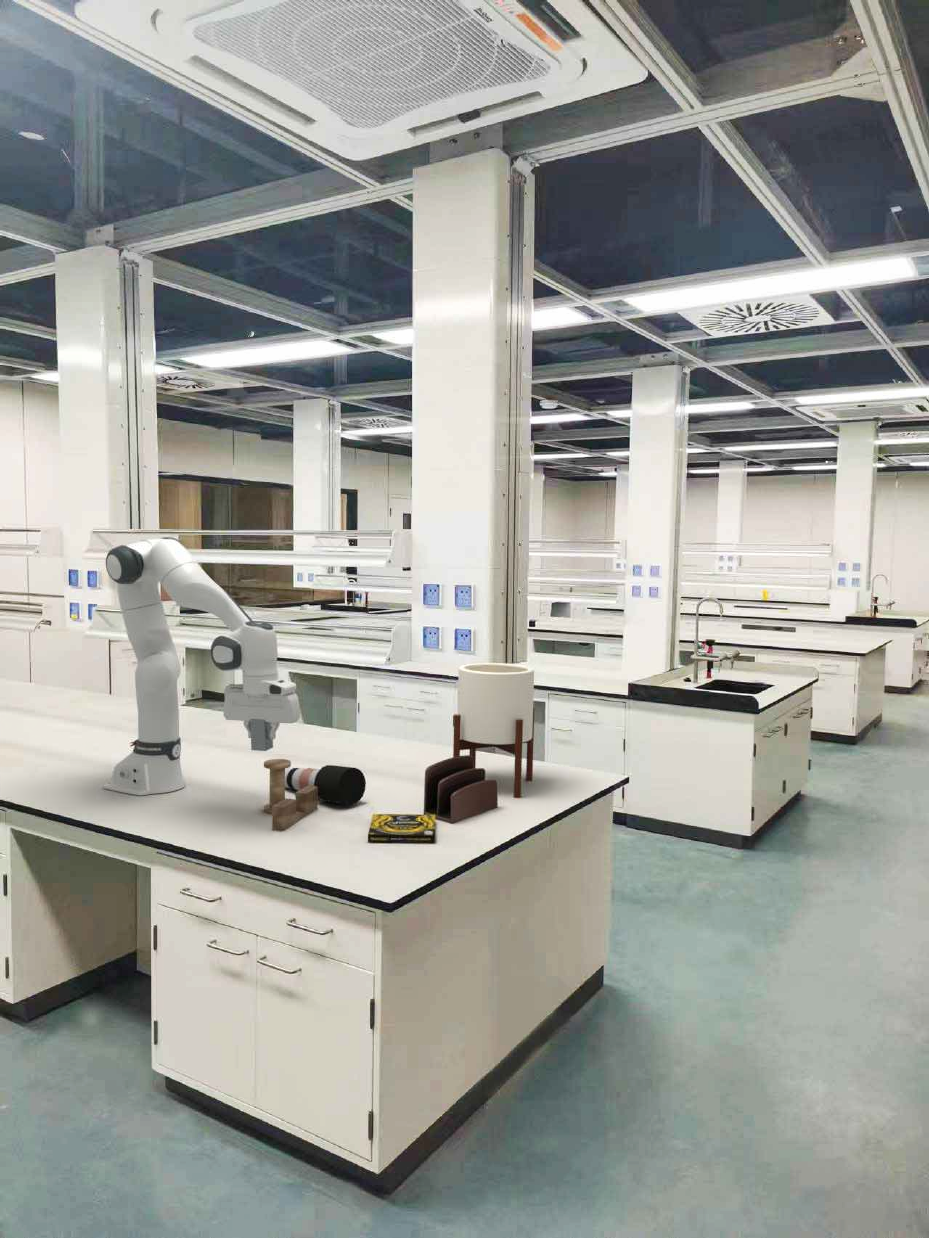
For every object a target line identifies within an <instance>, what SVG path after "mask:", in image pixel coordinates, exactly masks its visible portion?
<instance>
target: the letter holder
mask: <svg viewBox="0 0 929 1238" xmlns="http://www.w3.org/2000/svg"><path fill="white" fill-rule="evenodd" d="M423 785H424V786H423V787H424V789H423V790H424V793H423V794H424V795H423V815H435V820H437V821H440V822H444V823H448V824H450V825H451V824H454V823H457V822H460V821H462V820H465V819H467V818H471V817H473V816H477V815H479V814H481V813H485V812H488V811H491V810H493V809H495V808H498V806H499V805H498V801H499V799H498V798H499V797H498V791H499V790H498V788H499V787H498V785H499V784H498V780H496V779H486V770H485V768H481V767H480V768H479V767H475V768H474V769H473V756H471V755H467V754H465V755H460V756H457V757H449V758H446V759H443V760H440V761H438V762H436V763H433V764H431V765H429V766H427V767H426V769H425V770H424V784H423Z"/></svg>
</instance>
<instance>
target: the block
mask: <svg viewBox="0 0 929 1238" xmlns="http://www.w3.org/2000/svg"><path fill="white" fill-rule="evenodd" d="M250 723H251V738H250V747H251V748H250V750H251V751H259V752H266V751H268V750H270V749H273V748H274V739H273V740H271V739H267V737H268V736H267V733H268V732H270V731H271V730H272V727H271V722H265V720H257V719H250Z"/></svg>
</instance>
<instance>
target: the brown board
mask: <svg viewBox="0 0 929 1238" xmlns="http://www.w3.org/2000/svg"><path fill="white" fill-rule="evenodd" d="M318 799H319V798H318V787H315V786H306V787H305V788H303V789H301V790H299V791H298V790H297V791H296V792H295V798H285V799H284V800H282V801H280V802H279V803H277V804H275V805H274V806H272V814H271V815H272V817H271V818H272V819H271V820H272V821H271V822H272V823H271V827H272V831H279V832H284V831H286V830H287V829H289V828H290V827H292V826H293V825H294V824H295V825H296V824H297V823H298V822H300V821H301V820H303V819H304V818H306V817H308V815H310V814H312V813H313V812H316V810H318V808H319V807H318V804H319V802H318Z"/></svg>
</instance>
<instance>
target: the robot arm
mask: <svg viewBox="0 0 929 1238" xmlns="http://www.w3.org/2000/svg"><path fill="white" fill-rule="evenodd" d="M105 568H106V572H107V575H109V577H110V578H111V579H112V580H113V582H115V583H117V594H118V602H119V607H120V611H121V615H122V618H123V623H124V626H125V630H126V634H127V638H128V640H129V642H130V644H131V647H132V649H133V653H134V655H135V658H136V661H137V664H138V665H137V666H136V668H135V672H134V681H135V683H134V684H135V694H136V695H135V696H136V705H137V706H136V707H137V723H138V724H137V725H138V726H137V727H138V728H137V731H138V732H137V733H138V738H137V739H136V740H134V741H132V742H129V744H130V746H129V747H133V749H132V751H131V753H130V754H128V755H126V756H125V757H124V758H123V759H121V761H119V762H118V763H116V765H115V766H114V768H113V771H112V777H111V778H112V779H110V780H108V781H106V782H105V783H104V785H103V789H105V790H110V791H114V792H118V793H125V794H129V795H130V794H131V795H134V796H146V795H154V794H164V793H170V792H171V793H172V792H175V791H178V790H180V789H183V788H184V787H185V786H186V783H185V779H184V775H183V772H182V771H183V770H182V765H181V764H182V763H181V752H182V748H181V747H182V746H181V745H182V744H181V743H182V741H181V740H182V739H181V737H180V710H179V698H178V679H179V677H180V675H181V664H180V661H179V657H178V654H177V650H176V647H175V643H174V641H173V638H172V636H171V631H170V629H169V626H168V622H167V621H168V620H167V617H166V613H165V610H164V606H163V602H162V598H161V594H160V591H159V583H160V585H161V587H162V588H163V590H164V591H165V593H166V594H167V595H168V597H169V598H171V600H172V601H173V602H174V603H176V604H177V605H179V606H180V607H183V608H184V607H185V608H188V609H193V610H199V611H203V612H207V613H209V614H212V615H213V616H216V617H217V618H219V619H220V620H221V621H222V623H223V624H224V625H225V626H226V627H227V628H228V630H230V632H227V633H225V634H222V635H219V636H217V637H216V638H215V639H213V641H212V643H211V645H210V653H209V654H210V659H211V662H212V663H213V665H214V666H215V667H216V668H217V669H218V670H220V671H223V672H224V671H226V672H230V671H231V672H232V671H233V672H234V671H238V670H239V671H240V670H241V671H242V684H241V683H239V684H237V683H236V684H235V683H229V685H227V686H226V687H225V688H224V692H223V693H224V694H223V695H224V702H223V717H224V719H225V720H226V721H238V722H239V721H242V722H243V726H244V728H245V730H246V731H247V735H248V736H247V737H248V739H251V723H250V719H257V720H265V722H271V727H272V730H271V731H270V732H268V733H267V736H268V737H267V739H271V740H273V741H274V740H275V739H276V732H277V730H278V729H279V727H280V724H294V723H296V722H298V721H299V719H300V717H301V711H300V709H301V708H300V699H299V696H298V695H297V694H296V693H295V692H296V691H297V684H296V683H295V682H293V681H290V680H287V679H285V678H282V677H280V676H279V671H278V667H277V661H278V657H279V656H278V639H277V634H276V633H277V632H276V630H275V628H274V626H273V625H271V623H269V622H266V621H262V620H261V621H258V620H253V619H252V618H251V617H250V616H249V615H248V613H247V612H246V611H245V610H244V608H243V607H241V606H240V605H239V603H238V602H237V601H236V600H235V599H234V597H232V596H231V595H230V593H228V592H227V591H226V590H225V589H224V588H223V587H222V586H220V585H219V584H217V583H216V582H215V581H214V580H213V579H212V578H211V577H210V576H209V574H207V573H206V572H205V570H204V569H203V568H202V567H201V565H200V563H198V562H197V560H196V559H195V557H194V556H193V555H192V554H191V552H189V551H188V549H187V548H186V547H185V546H184V545H183V543H182V542H181V540H179V539H177V538H174V537H167V536H166V537H164V536H163V537H161V538H149V539H142V540H139V541H136V542H131V543H129V544H125V545H123V544H122V545H119V546H116V547H113V548H111V549H110V550H109V551H108V553H107V555H106V557H105Z"/></svg>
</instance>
